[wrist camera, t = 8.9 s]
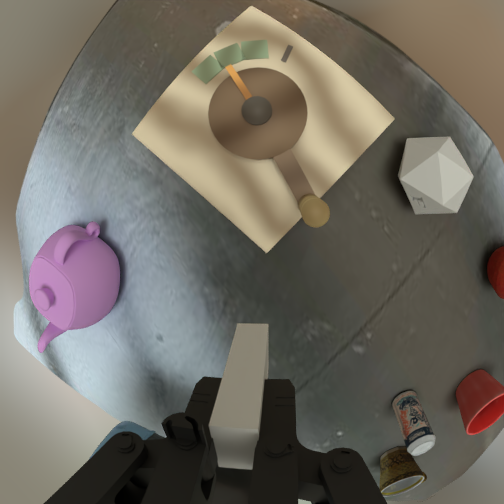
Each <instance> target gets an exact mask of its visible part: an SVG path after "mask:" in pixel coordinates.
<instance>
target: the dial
mask: <svg viewBox="0 0 504 504" xmlns="http://www.w3.org/2000/svg"><path fill="white" fill-rule="evenodd" d="M225 68H226V70H227V71H228V73H229V74H230V76H229V77H227V78H226V79H225V80H224V81H223V82H222V83H221V84H220V85H219V86H218V87H217V89H216V90H215V92H214V94H213V95H212V98H211V100H210V104H209V111H208V118H209V124H210V127H211V130H212V132H213V134H214V136H215V137H216V139H217V140H218V142H219V143H220V144H221V145H222V146H223V147H224V148H226V149H227V150H229V151H230V152H232V153H234V154H236V155H238V156H241V157H244V158H248V159H253V160H265V159H271V158H274V160H275V162H276V164H277V166H278V167H279V169H280V171H281V173H282V175H283V176H284V178H285V180H286V182H287V184H288V185H289V187H290V189H291V191H292V193H293V195H294V197H295V199H296V200H297V204H298V208H299V210H300V213H301V215H302V218H303V220H304V222H305V223H306V224H307V225H309V226H311V227H320V226H323V225H324V224H325V223H326V222H327V221H328V219H329V216H330V210H329V207H328V205H327V204H326V203H325V202H324V201H322V200H321V199H320V198H319V197H317V196H316V195H315V193H314V191H313V189H312V187H311V186H310V184H309V182H308V180H307V178H306V176H305V174H304V172H303V170H302V169H301V167H300V165H299V163H298V161H297V160H296V158H295V156H294V154H293V152H292V151H291V148H292V147H293V146H294V145H295V144H296V142H297V141H298V140H299V138H300V136H301V135H302V133H303V131H304V128H305V126H306V122H307V114H308V112H307V104H306V100H305V97H304V95H303V93H302V91H301V89H300V88H299V87H298V85H297V84H296V83H295V82H294V81H293V80H292V79H291V78H289V77H288V76H286V75H285V74H283V73H281V72H279V71H276V70H273V69H269V68H260V67H256V68H248V69H244V70H241V71H238V72H236V71H235V69H234V68H233V66H232V65H231V64H230V65H228V66H226V67H225Z"/></svg>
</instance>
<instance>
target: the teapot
mask: <svg viewBox="0 0 504 504" xmlns="http://www.w3.org/2000/svg"><path fill="white" fill-rule="evenodd" d="M99 233H100V226H99V225H98V223H96V222H93V221H92V222H90V223H89V224H88V225H87V227H86V229H84V228H82V227H80V226H77V225H68V226H65V227H63V228H61V229H59V230H58V231H56V232H55V233H54V234H53V235H51V236H50V237H49V238H48V239H47V241H46V242H45V243H44V244H43V246H42V247H41V249H40V250H39V252H38V253H37V255H36V257H35V258H34V260H33V263H32V266H31V269H30V275H29V288H30V295H31V299H32V301H33V304H34V305H35V307H36V308H37V309H38V311H39V312H40V313H41V314H42V315H43V316H44V317H45V318H46V319H47V320H49V321H50V322H49V324H48V326H47V327H46V329H45V331H44V332H43V334H42V336H41V337H40V339H39V342H38V350H39V352H40V353H42V352H43V351H44V350H45V348H46V346H47V345H48V344H49V342H50V341H51V340H53V339H54V338H55V337H57V336H59V335H60V334H62V333H64V332H66V331H67V330H73V329H81V328H86V327H89V326H91V325H93V324H95V323H97V322H99V321H100V320H102V319H103V318H104V317H105V316H106V315H107V314H108V313H109V312H110V311H111V309H112V308H113V306H114V304H115V302H116V299H117V296H118V292H119V284H120V266H119V261H118V259H117V256H116V254H115V253H114V251H113V250H112V249H111V248H110V247H109V246H108V245H107V244H106V243H105V242H104V241H103V240H101V239H100V238H99V237H98V235H99Z"/></svg>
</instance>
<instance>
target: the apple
mask: <svg viewBox="0 0 504 504" xmlns="http://www.w3.org/2000/svg"><path fill="white" fill-rule="evenodd" d="M487 274H488V278H489V281H490V283H491V285H492V287H493V288H494V290H495V291H496V293H497V295H498V296H499V297H500V298H502V299H504V246H503V247H500V248H498V249H496V250H495V251H494V252H493V253H492V255H491V257H490V258H489V261H488V264H487Z"/></svg>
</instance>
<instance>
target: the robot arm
mask: <svg viewBox="0 0 504 504" xmlns="http://www.w3.org/2000/svg"><path fill="white" fill-rule="evenodd" d="M268 368H269V349H268V324H244V323H238V324H237V327H236V331H235V335H234V338H233V342H232V345H231V349H230V352H229V356H228V359H227V363H226V366H225V370H224V373H223V377H222V378H215V377H203V378H202V379H201V380H200V381H199V382H198V383H196V385H195V388H194V390H193V394H192V395H191V398H190V402H189V403H188V406H187V408H186V411H185V413H176V414H172V415H170V416H169V417H167V418H165V420H164V421H163V422H162V426H163V429H164V431H165V434H166V436H167V437H166V438H164V437H162V436H160V435H158V434H156V433H155V431H150V430H148V429H146V428H144V427H142V426H140V425H138V424H136V423H133V422H130V421H124V422H121V423H119V424H118V425H117V426H116V427H114V428H113V429H112V430H111V432H110V433H109V434H108V435H107V436H106V438H105V439H104V440H103V441H102V442H101V443H100V445H99V446H98V447H97V449H96V450H95V452H94V453H93V454H92V456H91V457H90V459H89V460H88V461H87V462H86V463H85V464H84V465H83V466H82V467H81V468H80V469H79V470H78V471H77V472H76V473H75V474H74V475H73V476H72V477H71V478H70V479H69V480H68V481H67V482H66V483H65V484H64V485H63V486H62V487H61V488H60V489H59V490H58V491H57V492H55V494H53V495H52V497H50V498H49V499H48V500H47V501H46V502H45V503H44V504H298V499H302V500H306V501H311V503H312V504H387V502H386V500H385V499H384V497H383V495H382V493H381V491H380V489H379V488H378V486H377V484H376V482H375V480H374V478H373V477H372V475H371V473H370V471H369V469H368V467H367V466H366V464H365V462H364V460H363V458H362V457H361V456H360V454H359V453H358V452H356V451H354V450H352V449H349V448H336V449H333V450H331V451H329V452H327V453H321V452H316V451H313V450H309V449H307V448H305V447H304V446H302V445H301V444H300V443H299V441H298V439H297V435H296V410H295V387H294V386H293V384H292V383H291V381H290V380H289V379H268Z"/></svg>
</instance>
